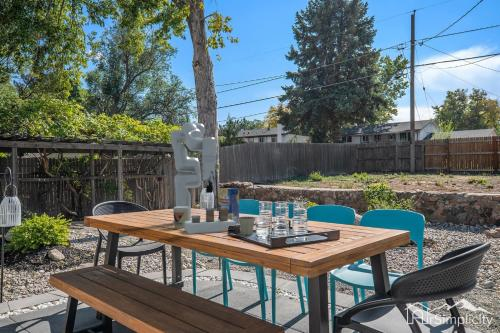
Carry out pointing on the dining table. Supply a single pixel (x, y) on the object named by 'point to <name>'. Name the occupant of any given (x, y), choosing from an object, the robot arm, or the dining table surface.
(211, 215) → the plug middle
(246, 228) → the flower pot
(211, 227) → the socket board
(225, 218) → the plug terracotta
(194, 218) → the plug left
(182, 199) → the robot arm
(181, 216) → the coffee cup
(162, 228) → the dining table surface
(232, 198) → the beverage box
